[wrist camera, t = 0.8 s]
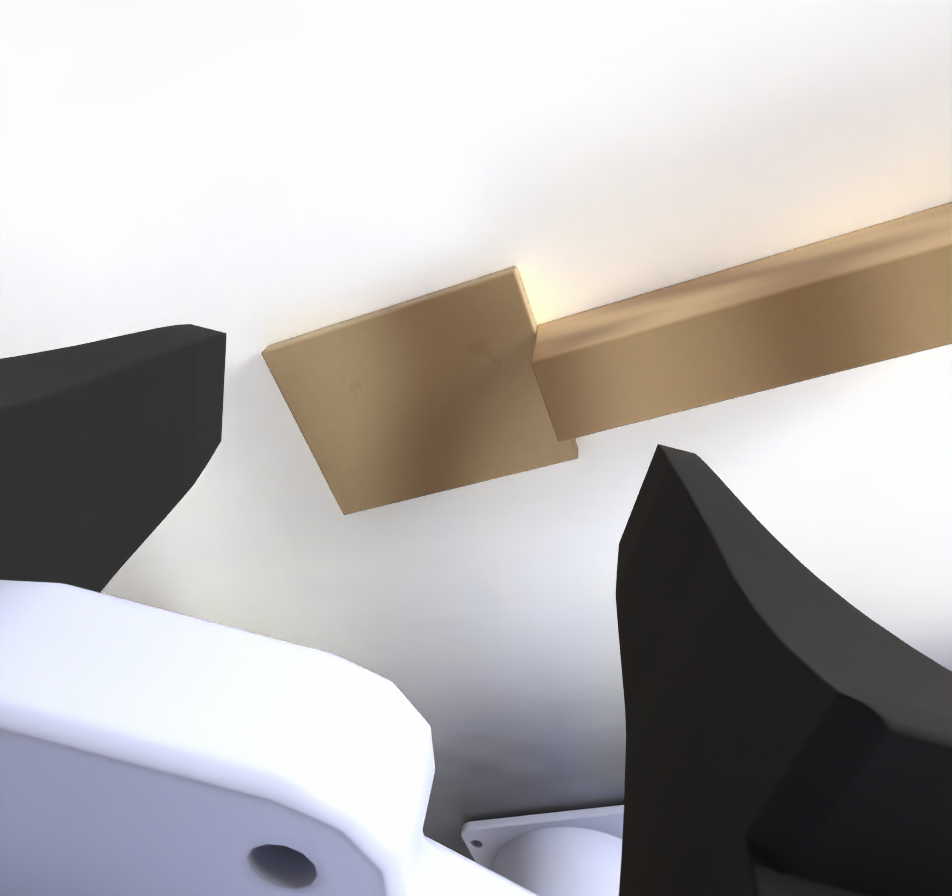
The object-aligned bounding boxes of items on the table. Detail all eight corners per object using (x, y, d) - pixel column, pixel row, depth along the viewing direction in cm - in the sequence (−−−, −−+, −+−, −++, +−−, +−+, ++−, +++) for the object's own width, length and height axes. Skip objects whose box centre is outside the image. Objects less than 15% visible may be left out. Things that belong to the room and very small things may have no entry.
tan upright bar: (348, 506, 25) (322, 556, 23) (267, 345, 23) (228, 382, 20) (1021, 340, 20) (1081, 384, 17) (1011, 104, 17) (1079, 117, 15)
